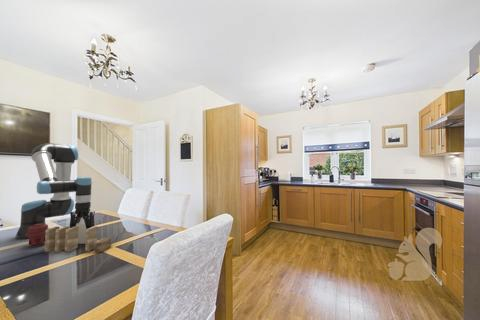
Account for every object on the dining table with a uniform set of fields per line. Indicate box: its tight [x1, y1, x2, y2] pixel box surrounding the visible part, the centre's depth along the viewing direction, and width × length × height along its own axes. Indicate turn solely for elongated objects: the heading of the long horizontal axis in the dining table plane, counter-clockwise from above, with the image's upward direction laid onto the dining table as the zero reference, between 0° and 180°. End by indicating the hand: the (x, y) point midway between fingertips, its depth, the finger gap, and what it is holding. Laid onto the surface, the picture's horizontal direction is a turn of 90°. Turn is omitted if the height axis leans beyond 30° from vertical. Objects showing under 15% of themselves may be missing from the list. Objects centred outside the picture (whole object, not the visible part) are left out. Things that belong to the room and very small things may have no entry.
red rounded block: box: [25, 223, 49, 249], centre depth 114 cm, size 12×10×10 cm
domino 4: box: [76, 222, 86, 245], centre depth 118 cm, size 2×6×12 cm, turn 91°
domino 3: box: [64, 226, 79, 253], centre depth 108 cm, size 2×6×12 cm, turn 1°
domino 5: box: [84, 225, 99, 252], centre depth 108 cm, size 2×6×12 cm, turn 1°
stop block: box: [93, 237, 112, 253], centre depth 108 cm, size 4×8×5 cm, turn 1°
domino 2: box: [54, 225, 70, 253], centre depth 108 cm, size 2×6×12 cm, turn 1°
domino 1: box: [44, 226, 60, 253], centre depth 108 cm, size 2×6×12 cm, turn 1°
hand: (81, 239), depth 117 cm, fingers closed on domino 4, 6 cm apart
